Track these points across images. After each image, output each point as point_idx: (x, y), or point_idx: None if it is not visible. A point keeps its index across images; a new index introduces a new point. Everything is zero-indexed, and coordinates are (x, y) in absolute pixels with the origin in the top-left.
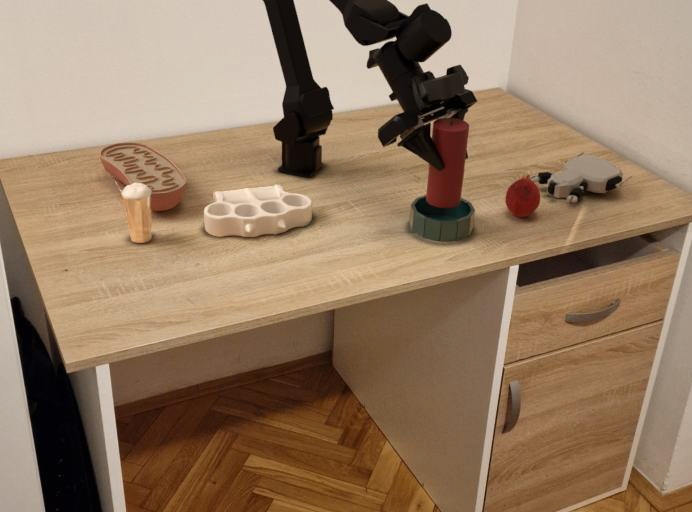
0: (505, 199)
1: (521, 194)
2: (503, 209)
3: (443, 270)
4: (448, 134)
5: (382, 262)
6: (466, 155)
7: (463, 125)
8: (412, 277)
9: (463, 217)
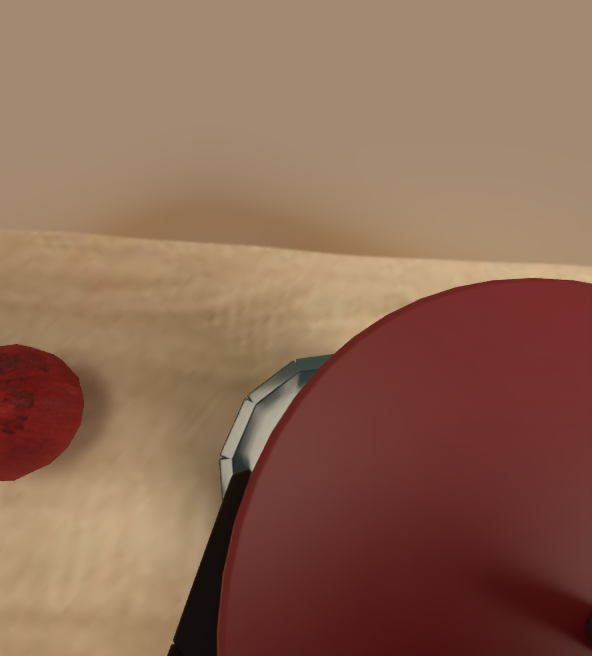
0: (62, 447)
1: (31, 369)
2: (51, 496)
3: (448, 268)
4: None
5: None
6: (243, 478)
7: (389, 459)
8: (539, 275)
9: (320, 366)
